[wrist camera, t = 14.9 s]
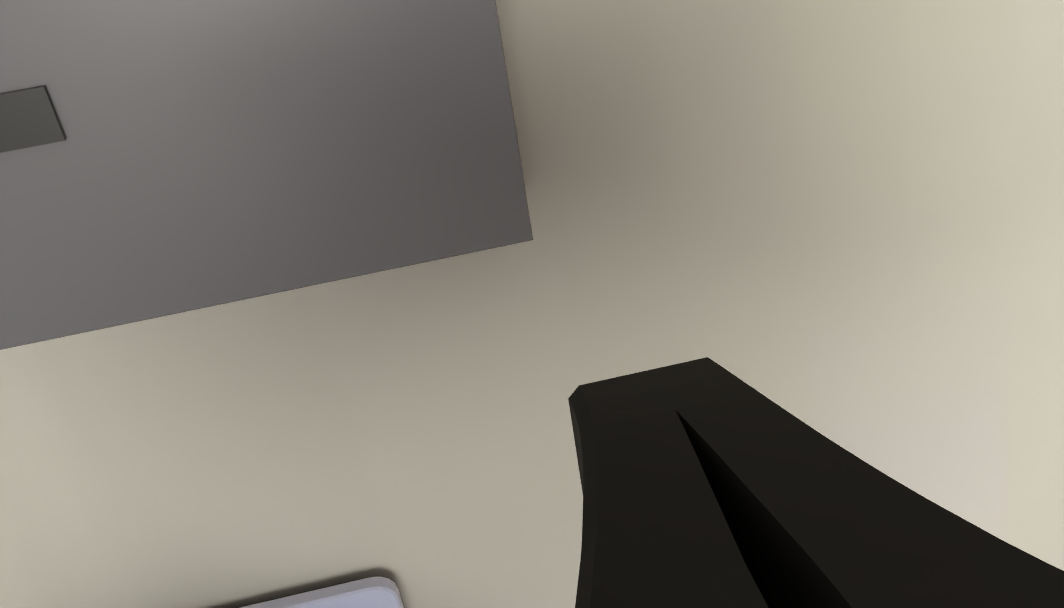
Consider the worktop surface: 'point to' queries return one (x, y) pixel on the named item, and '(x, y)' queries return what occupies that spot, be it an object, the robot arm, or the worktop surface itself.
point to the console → (241, 151)
